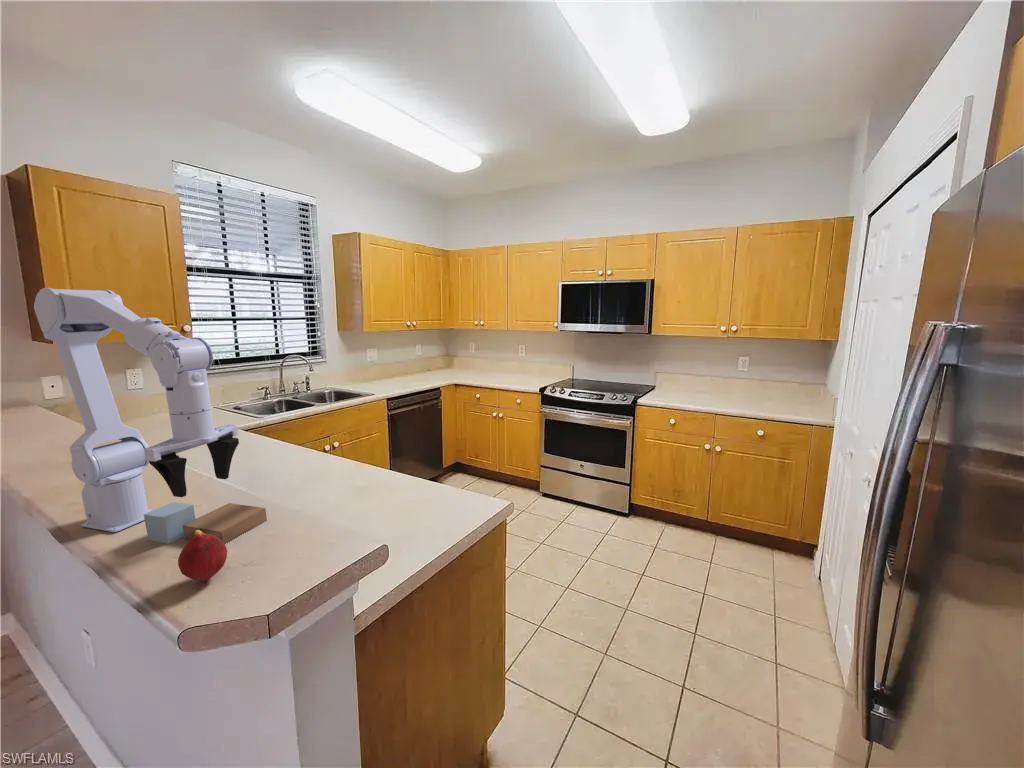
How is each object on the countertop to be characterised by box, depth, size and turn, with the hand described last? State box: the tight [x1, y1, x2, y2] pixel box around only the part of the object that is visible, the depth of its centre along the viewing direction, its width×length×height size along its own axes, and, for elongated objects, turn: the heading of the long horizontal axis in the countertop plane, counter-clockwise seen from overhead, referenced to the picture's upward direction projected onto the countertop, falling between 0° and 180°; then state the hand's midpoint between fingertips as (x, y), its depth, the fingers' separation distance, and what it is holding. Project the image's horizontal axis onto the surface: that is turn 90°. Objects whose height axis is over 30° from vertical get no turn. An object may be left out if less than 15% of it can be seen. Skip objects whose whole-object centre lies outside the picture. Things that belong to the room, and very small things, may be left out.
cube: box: [144, 501, 196, 545], centre depth 76 cm, size 5×5×5 cm
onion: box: [177, 530, 228, 582], centre depth 62 cm, size 6×6×8 cm
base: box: [183, 502, 268, 545], centre depth 78 cm, size 9×9×3 cm
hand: (202, 486), depth 74 cm, fingers open, 7 cm apart
